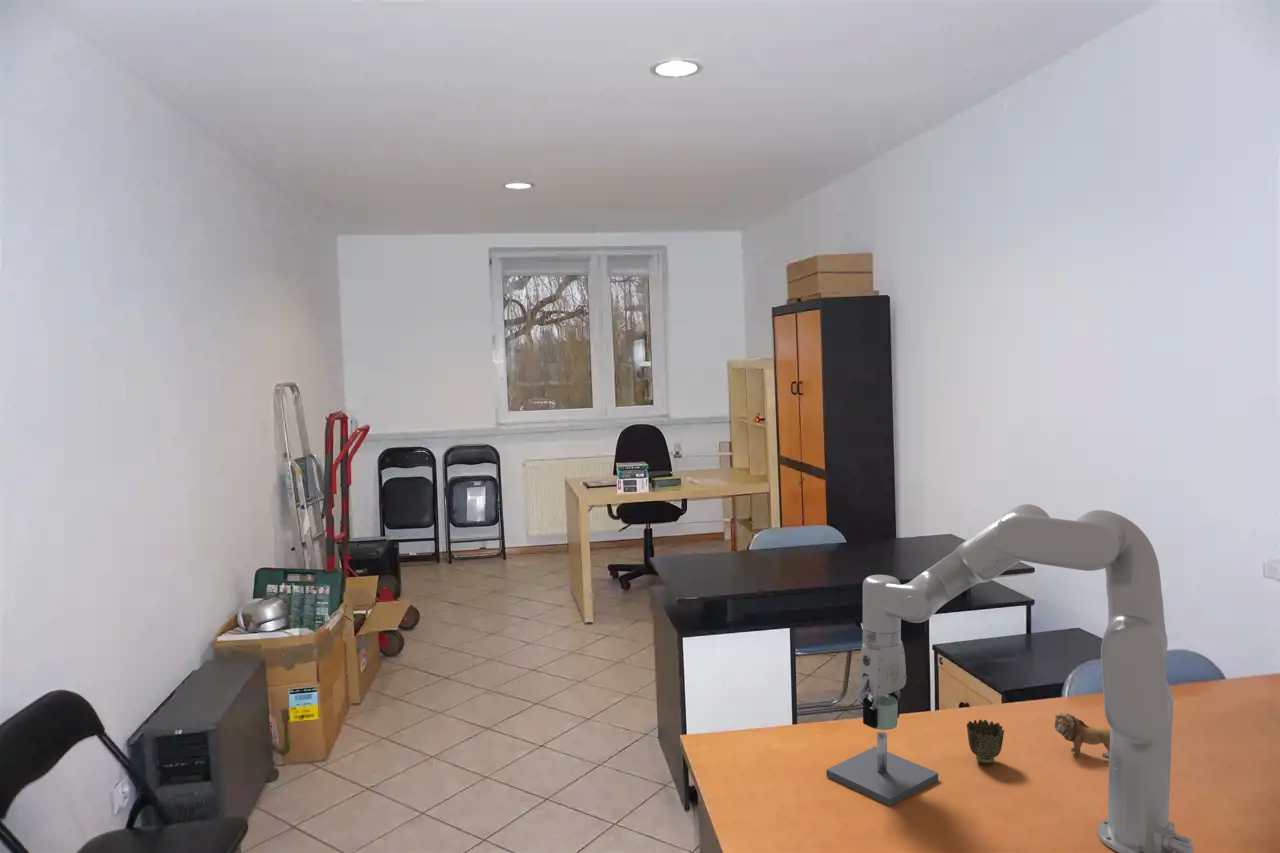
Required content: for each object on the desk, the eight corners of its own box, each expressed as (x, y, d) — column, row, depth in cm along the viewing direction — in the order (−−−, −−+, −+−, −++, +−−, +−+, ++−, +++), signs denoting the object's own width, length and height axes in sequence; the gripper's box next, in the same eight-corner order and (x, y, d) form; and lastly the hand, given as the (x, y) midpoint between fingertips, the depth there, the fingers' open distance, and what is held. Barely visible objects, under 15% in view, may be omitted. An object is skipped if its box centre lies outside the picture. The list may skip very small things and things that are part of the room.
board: (938, 779, 185) (938, 773, 185) (890, 806, 175) (890, 799, 175) (874, 753, 198) (874, 746, 198) (826, 776, 188) (826, 769, 188)
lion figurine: (1054, 757, 194) (1054, 716, 193) (1053, 746, 198) (1054, 707, 198) (1131, 768, 188) (1132, 726, 187) (1129, 757, 193) (1130, 716, 192)
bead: (903, 723, 185) (903, 700, 184) (884, 732, 181) (884, 708, 180) (877, 713, 190) (878, 691, 189) (858, 722, 186) (858, 699, 186)
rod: (889, 771, 186) (888, 734, 185) (882, 774, 185) (882, 737, 184) (881, 767, 188) (880, 731, 187) (875, 771, 187) (874, 733, 186)
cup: (1006, 771, 188) (1007, 735, 187) (969, 769, 189) (969, 732, 188) (1000, 755, 195) (1000, 719, 194) (964, 753, 196) (964, 718, 196)
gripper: (869, 651, 175) (869, 739, 177) (922, 631, 186) (921, 715, 188) (839, 641, 181) (839, 726, 183) (892, 623, 192) (891, 704, 194)
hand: (881, 720), depth 185 cm, fingers closed on bead, 6 cm apart
